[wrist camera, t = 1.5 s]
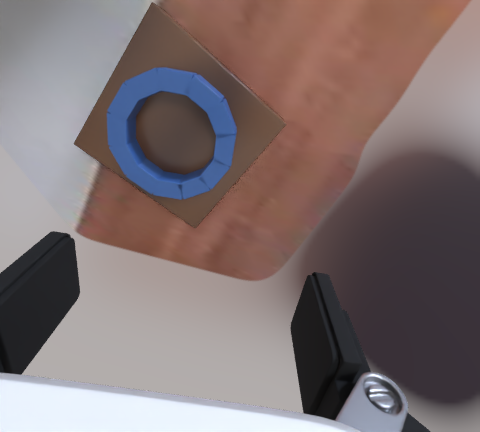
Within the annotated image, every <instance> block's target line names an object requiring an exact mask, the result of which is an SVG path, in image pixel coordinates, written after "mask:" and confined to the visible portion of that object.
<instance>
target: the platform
mask: <svg viewBox="0 0 480 432" xmlns="http://www.w3.org/2000/svg"><path fill="white" fill-rule="evenodd" d="M161 67H167V68H172V69H177V70H183V71H188V72H193V73H197V75H201V76H202V77H203V78H204V79H205V80H206V81H208V82H209V83H210V84H211V85H212V86H213V87H214V88H216V89H217V90H218V91H219V92H220V93H221V94H222V95H224V98H226V100H227V103H228V106H229V108H230V111H231V114H232V117H233V119H234V122H235V125H236V127H237V128H236V130H237V133H236V139H235V146H234V152H233V158H232V164H231V166H230V169H229V170H228V171H227V172H226V173H225V175H224V176H223V177H222V178H221V179H220V181H219V182H218V183H217V184H216V185H215V186H214V188H213V189H210V191H207V192H205V193H202V194H199V195H196V196H193V197H190V198H187V199H182V200H180V199H174V198H168V197H162V196H156V195H153V193H152V194H150V193H149V192H147V191H146V190H144V189H143V188H141V187H140V186H139V185H137V184H136V183H134V182H133V181H131V180H130V179H129V178H127V177H126V175H127V174H126V175H124V173H123V171H122V169H121V168H120V166H119V164H118V163H117V161H116V159H115V157H114V156H113V154H112V152H111V150H110V149H109V146H110V145H108V133H107V112H108V111H107V110H108V108H109V106H110V104H111V103H112V101H113V99H114V97H115V96H116V94H117V92H118V91H119V89H120V87H121V85H122V84H123V83H125V81H126V80H128V79H131V78H133V77H135V76H137V75H140V74H142V73H144V72H146V71H149V70H151V69H153V68H161ZM224 98H223V99H224ZM285 126H286V123H285V122H284V120H283V118H281V117H280V116H279V115H278V114H277V113H276V112H275V111H274V110H273V109H272V108H271V107H269V106H268V105H267V104H266V103H265V102H264V101H263V100H262V99H261V98H260V97H259V96H257V95H256V94H255V93H254V92H253V91H252V90H251V89H250V88H249V87H248V86H246V85H245V84H244V83H243V82H242V81H241V80H240V79H239V78H238V77H237V76H236V75H234V74H233V73H232V72H231V71H230V70H229V69H228V68H227V67H226V66H225V65H224V64H222V63H221V62H220V61H219V60H218V59H217V58H216V57H215V56H214V55H213V54H212V53H210V52H209V51H208V50H207V49H206V48H205V47H204V46H203V45H202V44H201V43H199V42H198V41H197V40H196V39H195V38H194V37H193V36H192V35H191V34H190V33H189V32H187V31H186V30H185V29H184V28H183V27H182V26H181V25H180V24H179V23H178V22H177V21H175V20H174V19H173V18H172V17H171V16H170V15H169V14H168V13H167V12H166V11H165V10H163V9H162V8H161V7H159V6H157V5H156V4H154V3H153V2H152V3H151V5H150V7H149V9H148V10H147V12H146V14H145V16H144V18H143V19H142V21H141V23H140V25H139V27H138V29H137V30H136V32H135V34H134V36H133V38H132V39H131V41H130V43H129V45H128V47H127V48H126V50H125V52H124V54H123V56H122V57H121V59H120V61H119V63H118V65H117V66H116V68H115V70H114V72H113V74H112V75H111V77H110V79H109V81H108V83H107V84H106V86H105V88H104V90H103V92H102V94H101V95H100V97H99V99H98V101H97V103H96V104H95V106H94V108H93V110H92V112H91V113H90V115H89V117H88V119H87V121H86V122H85V124H84V126H83V128H82V130H81V131H80V133H79V135H78V137H77V139H76V140H75V142H74V145H76V146H77V147H79V148H80V149H82V150H83V151H85V152H86V153H87V154H89V155H90V156H92V157H93V158H95V159H96V160H97V161H99V162H100V163H102V164H103V165H105V166H106V167H108V168H109V169H110V170H112V171H113V172H115V173H116V174H118V175H119V176H120V177H122V178H123V179H125V180H126V181H128V182H129V183H131V184H132V185H133V186H135V187H136V188H138V189H139V190H141V191H142V192H143V193H145V194H146V195H148V196H149V197H151V198H152V199H154V200H155V201H156V202H158V203H159V204H161V205H162V206H164V207H165V208H167V209H168V210H169V211H171V212H172V213H174V214H175V215H177V216H178V217H179V218H181V219H182V220H184V221H185V222H187V223H188V224H190V225H191V226H192V227H194V228H196V227H197V226H198V225H199V223H200V222H201V221H202V220H203V219H204V218H205V217H206V215H207V214H208V213H209V212H210V211H211V210H212V209H213V208H214V206H215V205H216V204H217V203H218V202H219V201H220V200H221V198H222V197H223V196H224V195H225V194H226V193H227V192H228V190H229V189H230V188H231V187H232V186H233V185H234V184H235V182H236V181H237V180H238V179H239V178H240V177H241V176H242V174H243V173H244V172H245V171H246V170H247V169H248V168H249V167H250V165H251V164H252V163H253V162H254V161H255V160H256V159H257V157H258V156H259V155H260V154H261V153H262V152H263V151H264V149H265V148H266V147H267V146H268V145H269V144H270V143H271V141H272V140H273V139H274V138H275V137H276V136H277V135H278V133H279V132H280V131H281V130H282V129H283V128H284V127H285ZM136 139H137V141H138V143H139V145H140V147H141V149H142V151H143V153H144V155H145V157H146V158H147V159H148V160H150V161H151V162H152V163H154V164H155V165H156V166H158V167H159V168H160V169H162V170H163V171H165V172H171V173H177V174H183V175H186V174H188V173H191V172H194V171H197V170H200V169H202V168H204V167H205V165H206V164H207V163H208V162H209V160H210V159H211V158H212V157H213V155H214V150H215V142H216V134H215V132H214V129H213V127H212V124H211V122H210V119H209V117H208V114H207V112H205V111H204V110H203V109H202V108H201V107H199V106H198V105H197V104H196V103H195V102H194V101H192V100H191V99H190V98H189V97H188V96H186V95H181V94H175V93H170V92H164V91H162V92H160V93H157V94H155V95H153V96H150V97H148V98H147V100H146V101H145V103H144V104H143V106H142V108H141V109H140V111H139V112H138V114H137V116H136Z"/></svg>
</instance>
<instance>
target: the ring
mask: <svg viewBox="0 0 480 432" xmlns="http://www.w3.org/2000/svg"><path fill="white" fill-rule="evenodd" d="M162 91H164V92H170V93H175V94H181V95H186V96H188V97H189V98H190V99H191V100H192V101H194V102H195V103H196V104H197V105H198V106H199V107H201V108H202V109H203V110H204V111H205V112H207V114H208V117H209V119H210V122H211V124H212V127H213V129H214V132H215V134H216V142H215V150H214V155H213V157H212V158H211V159H210V160H209V162H208V163H207V164H206V165H205V167H204V168H202V169H200V170H197V171H194V172H191V173H188V174H186V175H183V174H177V173H171V172H165V171H163V170H162V169H160V168H159V167H158V166H156V165H155V164H154V163H152V162H151V161H150V160H148V159H147V158H146V157H145V155H144V153H143V151H142V149H141V147H140V145H139V143H138V141H137V139H136V116H137V114H138V112H139V111H140V109H141V108H142V106H143V104H144V103H145V101H146V100H147V98H148V97H150V96H153V95H155V94H157V93H160V92H162ZM223 98H224V95H222V94H221V93H220V92H219V91H218V90H217V89H216V88H214V87H213V86H212V85H211V84H210V83H209V82H208V81H206V80H205V79H204V78H203V77H202V76H201V75H197V73H193V72H188V71H183V70H177V69H172V68H167V67H161V68H153V69H151V70H149V71H146V72H144V73H142V74H140V75H137V76H135V77H133V78H131V79H128V80H126V81H125V83H123V84H122V85H121V87H120V89H119V91H118V92H117V94H116V96H115V97H114V99H113V101H112V103H111V104H110V106H109V108H108V110H107V111H108V112H107V133H108V145H110V146H109V149H110V150H111V152H112V154H113V156H114V157H115V159H116V161H117V163H118V164H119V166H120V168H121V169H122V171H123V173H124V175H126V174H127V175H126V177H127V178H129V179H130V180H131V181H133V182H134V183H136V184H137V185H139V186H140V187H141V188H143V189H144V190H146V191H147V192H149V193H150V194H152V193H153V195H156V196H162V197H168V198H174V199H180V200H182V199H187V198H190V197H193V196H196V195H199V194H202V193H205V192H207V191H210V189H213V188H214V186H215V185H216V184H217V183H218V182H219V181H220V179H221V178H222V177H223V176H224V175H225V173H226V172H227V171H228V170H229V169H230V166H231V164H232V158H233V152H234V146H235V139H236V133H237V130H236V128H237V127H236V125H235V122H234V119H233V117H232V114H231V111H230V108H229V106H228V103H227V100H226V98H224V99H223Z"/></svg>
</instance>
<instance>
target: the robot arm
mask: <svg viewBox="0 0 480 432" xmlns="http://www.w3.org/2000/svg"><path fill="white" fill-rule="evenodd" d="M79 294H80V287H79V277H78V268H77V260H76V251H75V242H74V239H73V238H71V237H70V235H69V234H67V233H60V232H50V233H49V234H48V235H46V236H45V237H44V238H43V239H41V240H40V241H39V242H38V243H37V244H35V245H34V246H33V247H32V248H31V249H29V250H28V251H27V252H26V253H24V254H23V255H22V256H21V257H20V258H18V260H16V261H15V262H14V263H13V264H11V265H10V266H9V267H7V268H6V269H5V270H4V271H3V272H1V273H0V432H430V431H429V430H428V429H427V428H426V427H424V426H423V425H422V424H421V423H419V422H418V421H417V420H416V419H415V418H413V417H412V416H411V415H410V414H409V413H408V404H407V400H406V398H405V396H404V394H403V392H402V391H401V390H400V388H399V387H398V386H397V385H396V384H395V383H394V382H393V381H391V380H390V379H389V378H387V377H385V376H384V375H382V374H378V373H376V372H371V371H370V368H369V366H368V363H367V361H366V358H365V356H364V353H363V351H362V348H361V346H360V343H359V341H358V338H357V336H356V333H355V331H354V328H353V326H352V323H351V321H350V318H349V316H348V314H347V312H346V311H345V310H342V309H341V306H340V303H339V301H338V298H337V296H336V293H335V290H334V288H333V285H332V283H331V280H330V277H329V275H328V274H322V273H316V272H314V273H313V274H312V275H308V276H307V279H306V281H305V284H304V287H303V290H302V293H301V296H300V299H299V302H298V305H297V307H296V310H295V313H294V316H293V320H292V322H291V335H292V342H293V348H294V354H295V361H296V367H297V374H298V380H299V387H300V393H301V400H302V406H303V412H304V413H300V412H293V411H287V410H280V409H274V408H268V407H261V406H254V405H247V404H240V403H232V402H226V401H218V400H211V399H204V398H197V397H189V396H181V395H175V394H167V393H160V392H152V391H144V390H137V389H129V388H121V387H114V386H106V385H98V384H91V383H83V382H75V381H67V380H59V379H51V378H44V377H35V376H28V375H21V374H22V373H23V372H24V370H25V369H26V368H27V366H28V365H29V363H30V362H31V361H32V360H33V358H34V357H35V355H36V354H37V353H38V352H39V350H40V349H41V347H42V346H43V345H44V343H45V342H46V341H47V339H48V338H49V337H50V335H51V334H52V333H53V331H54V330H55V329H56V327H57V326H58V325H59V323H60V322H61V321H62V319H63V318H64V317H65V315H66V314H67V313H68V311H69V310H70V308H71V307H72V306H73V305H74V303H75V302H76V301H77V299H78V297H79Z"/></svg>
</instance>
